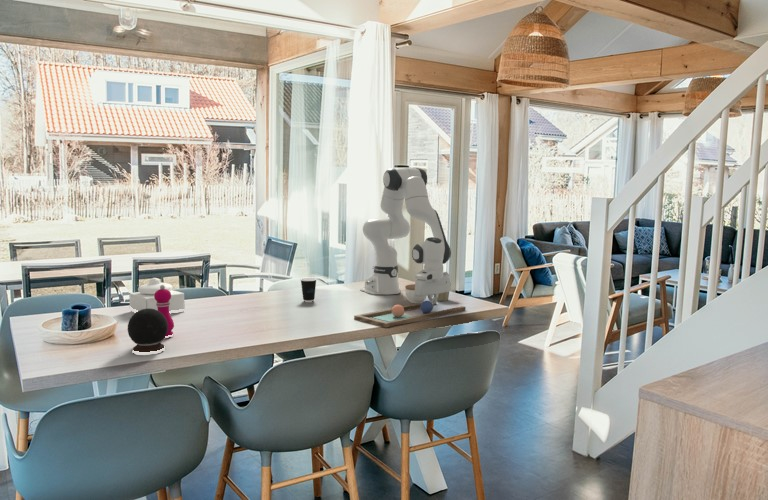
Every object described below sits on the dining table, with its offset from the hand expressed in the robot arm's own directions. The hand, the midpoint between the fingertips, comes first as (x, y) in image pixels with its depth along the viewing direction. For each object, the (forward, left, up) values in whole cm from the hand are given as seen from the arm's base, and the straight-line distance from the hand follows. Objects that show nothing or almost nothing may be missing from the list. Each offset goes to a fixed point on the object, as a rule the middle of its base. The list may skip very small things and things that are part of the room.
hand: (432, 303), depth 289 cm
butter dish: (-80, -95, -3) cm, 124 cm away
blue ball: (+2, -7, 0) cm, 7 cm away
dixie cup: (-54, -30, -3) cm, 62 cm away
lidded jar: (-18, +8, -3) cm, 20 cm away
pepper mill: (-34, -111, -3) cm, 116 cm away
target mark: (+1, -24, -3) cm, 24 cm away
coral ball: (0, -22, 0) cm, 22 cm away
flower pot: (-13, +21, -3) cm, 25 cm away
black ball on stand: (-19, -123, -3) cm, 125 cm away
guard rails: (+1, -13, -3) cm, 14 cm away
